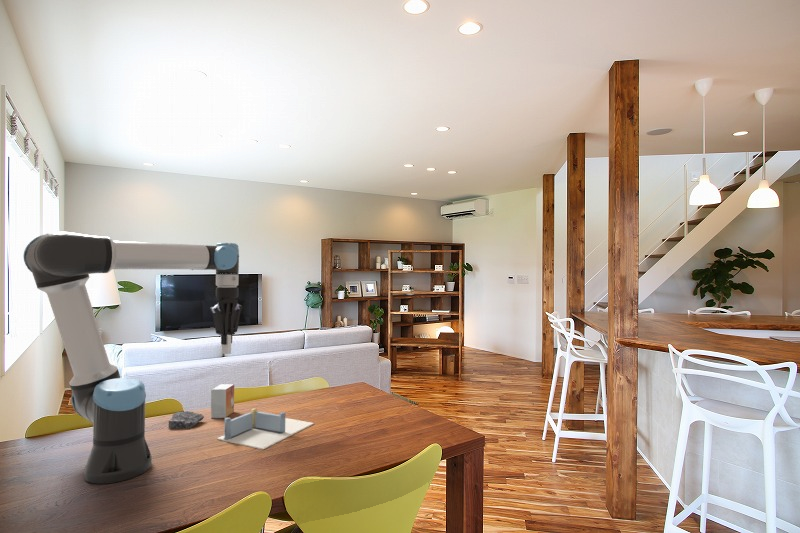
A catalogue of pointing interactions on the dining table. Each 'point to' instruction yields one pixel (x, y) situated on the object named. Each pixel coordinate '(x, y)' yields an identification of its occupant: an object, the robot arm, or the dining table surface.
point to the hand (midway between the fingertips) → (226, 353)
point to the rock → (184, 420)
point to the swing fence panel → (268, 420)
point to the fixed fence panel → (237, 425)
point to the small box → (222, 401)
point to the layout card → (266, 435)
